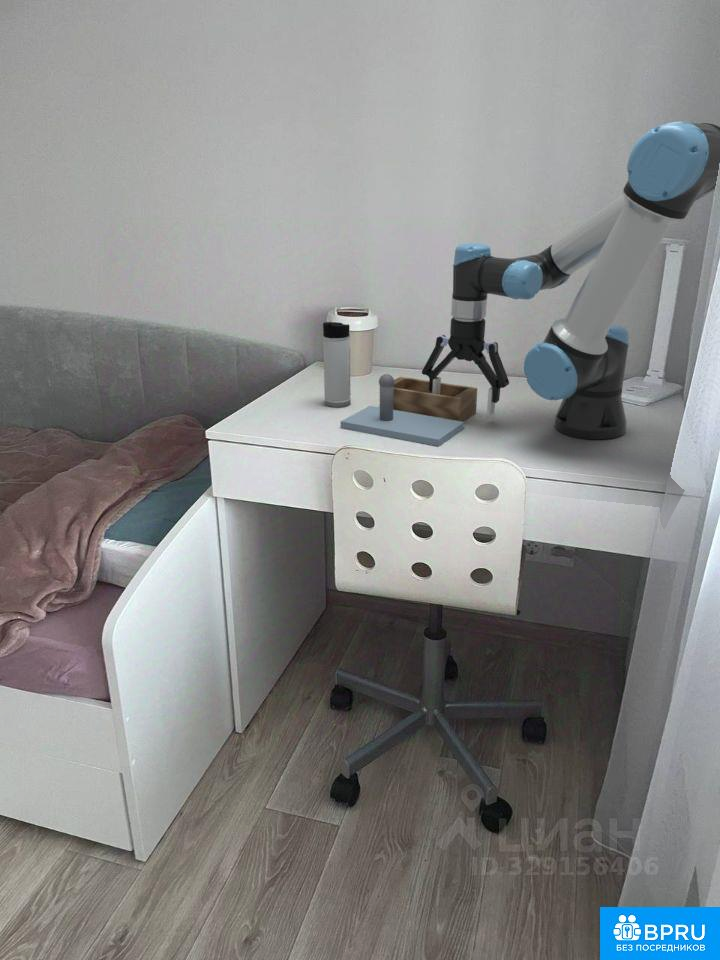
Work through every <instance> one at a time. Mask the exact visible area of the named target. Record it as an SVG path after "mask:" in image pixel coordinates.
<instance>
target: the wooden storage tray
mask: <svg viewBox="0 0 720 960" xmlns="http://www.w3.org/2000/svg"><path fill="white" fill-rule="evenodd" d="M477 402H478V387H473V386H468V385H467V386H466V385H460V384H454V383H445V382H441V386H440V395H438V394H432V392H431V391H429V380H426V379H421V378H420V379H419V378H412V377H407V376H399V377H397V378H395V379H394V385H393V410H398V411H403V412H409V413H415V414H421V415H427V416H433V417H438V418H444V419H450V420H456V421H462V422H464V423H465V421H467V420H468V419H469V418H471V417H472V416H474V415H475V414H476V413H477V405H478V404H477Z"/></svg>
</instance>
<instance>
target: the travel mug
mask: <svg viewBox="0 0 720 960" xmlns="http://www.w3.org/2000/svg"><path fill="white" fill-rule="evenodd" d="M322 327H323V328H322V331H323V333H322V334H323V336H322V338H323V339H322V341H323V342H322V343H323V344H322V345H323V347H322V348H323V376H324V377H323V380H324V382H323V383H324V404H325V405H326V406H328V407H330V408H345V407H348V406H349V405H351V399H352V398H351V395H352V394H351V339H350V337H351V336H350V335H351V334H350V324H349V323H347V324H343V323H342V322H336V321H333V322H332V321H327V322H323V324H322Z"/></svg>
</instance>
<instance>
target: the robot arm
mask: <svg viewBox="0 0 720 960" xmlns="http://www.w3.org/2000/svg"><path fill="white" fill-rule="evenodd" d="M719 163H720V125H717V124H714V123H707V122H701V123H698V122H697V123H694V122H687V121H673V122H668V123H665V124H661V125H658V126H656V127H652V129H650V130H649V131H647V132H645V133H644V134H643V135H642V136H641V137H640V138H639V139H638V140H637V141H636V143H634V146H633V147H632V149H631V152H630V154H629V157H628V161H627V165H626V168H627V169H626V171H627V173H628V174H627V175H628V177H627V181H626V183H625V186H624V187H623V189H622V194H621V195H620V196H619V197H617V198H616V199H614V200H613V201H612V202H610V203H609V204H608V205H606V206H604V207H603V208H602V209H601V210H599V211H598V212H596V213H594V214H593V215H592V216H591V217H589V218H587V219H586V220H585V221H583V222H582V223H581V224H578V226H576V227H575V228H573V229H571V231H569V232H568V233H566V234H565V235H563V236H562V237H560V238H559V239H557V240H556V241H555V242H553V243H552V244H551V245H549V246H547V248H545V249H544V250H542V251H541V252H539V253H536V254H531V255H527V256H521V257H515V258H505V257H497V256H493V255H492V252H491V247H490V246H489V245H488V244H485V243H472V242H470V243H469V242H468V243H461V244H459V245H457V246H456V248H455V249H454V261H453V265H452V269H453V270H452V271H453V275H452V276H453V277H452V297H451V307H450V308H451V309H450V310H451V312H450V316H451V317H452V318H451V319H450V326H449V327H450V330H449V335H450V337H447V336H446V335H445V334H441V335H440V336H438V337H436V341H435V345H434V348H433V350H432V352H431V353H430V356H429V357H428V359H427V362H426V363H424V367H423V368H422V371H421V373H422V375H423V376H427V377H428V379H429V380H428V381H429V391H431V392H432V394H438V395H440V386H441V383H442V382H441V381H442V377H441V376H439V375H440V374H441V373H442V371H444V370H445V368H447V366H448V365H449V364H450V363H451V362H452V361H453V360H455V358H456V359H457V360H460V361H462V360H464V361H466V362H471V361H473V362H474V364H475V365H477V367H478V369H479V370H480V371H481V373H482V374H483V376H484V378H485V379H486V380H487V382H488V383H489V385H490V387H489V388H488V392H487V394H488V395H487V407H486V418H491V417H493V416H494V415H495V409H496V404H497V403H498V402H500V399H501V398H500V394H501V389H503V388H506V387H507V386H508V385H510V380H509V377H508V374H507V372H506V370H505V367H504V364H503V361H502V358H501V356H500V354H499V343H498V342H497V341H495V342H492V343H491V342H489V343H486V342H485V334H486V333H485V332H486V319H485V318H486V316H487V306H488V305H487V304H488V295H489V294H490V295H495V296H500V297H506V298H511V299H513V300H531V299H533V298H534V297H535V296H536V295H537V294H538V293H539V292H540V291H545V290H552V289H555V288H557V287H560V286H562V285H564V284H565V283H567V282H568V280H569V279H570V277H571V275H572V274H574V273H576V272H577V271H579V270H580V269H582V268H583V267H585V266H587V265H588V264H590V263H591V262H593V261H594V262H593V264H592V266H591V268H590V270H589V272H588V274H587V276H586V277H585V279H584V280H583V283H582V285H581V287H580V289H579V291H578V293H577V294H576V297H575V298H574V300H573V302H572V304H571V306H570V307H569V310H568V312H567V313H566V315H565V316H564V317H562V318H558V319H556V320H555V321H553V322H552V324H551V326H550V329H549V330H548V332H547V334H546V336H545V337H544V340H543V341H542V342H539V343H537V344H535V345H534V346H533V347H532V348H530V350H529V351H528V352H527V354H526V355H525V358H524V361H523V373H524V376H525V377H526V382H527V384H528V385H529V387H530V389H531V390H532V391H533V392H534V393H535V394H536V395H537V396H539V397H541V398H542V399H545V400H549V401H558V400H561V402H560V404H559V407H558V409H557V411H556V414H555V416H554V425H553V426H554V428H555V429H556V430H557V431H559V432H560V433H562V434H564V435H567V436H570V437H574V438H578V439H586V440H610V439H615V438H619V437H622V436H623V435H624V434H625V433H626V429H627V417H626V412H625V407H624V402H623V398H622V394H623V387H624V379H625V372H626V365H627V357H628V351H629V350H628V349H629V345H630V344H629V330H628V329H627V328H626V327H624V326H621V325H617V324H614V323H615V322H616V320H617V317H618V316H619V314H620V313H621V311H622V309H623V308H624V306H625V305H626V302H627V301H628V299H629V298H630V295H631V293H632V292H633V290H634V288H635V287H636V285H637V283H638V282H639V280H640V278H641V276H642V275H643V273H644V271H645V270H646V267H647V266H648V264H649V262H650V261H651V260H652V258H653V256H654V254H655V253H656V250H657V248H658V247H659V246H660V244H661V242H662V240H663V239H664V237H665V235H666V234H667V232H668V230H669V228H670V227H671V225H673V224H676V223H679V222H682V221H684V220H685V218H686V217H687V215H688V213H689V212H690V211H691V208H692V207H693V205H694V203H695V202H697V201H698V200H700V199H702V198H703V197H705V196H706V195H709V194H710V193H713V192H714V191H716V190H715V186H716V181H717V176H718V170H719ZM447 345H448V346H449V348H450V351H449V353H448V354H447V355H446V356H445V357H444V358H442V359H443V360H441V361H440V363H439V364H437V366H436V367H435V368H434V366H435V364H436V363H437V361H438V360H439V357H440V355H441V353H442V352H443V350H444V348H445V347H446V346H447ZM484 350H485V351H486V353H487V354H488V356H489V360H490V363H491V364H492V365H491V366H490V364H489V362H488V361H487V359H486V356H485V354H484V353H483V351H484ZM492 367H493V369H492Z"/></svg>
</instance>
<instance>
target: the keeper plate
mask: <svg viewBox="0 0 720 960" xmlns="http://www.w3.org/2000/svg"><path fill="white" fill-rule="evenodd" d="M394 380H395V379H394V377H393V376H392V374H389V373H388V374H387V373H384V374H382V375H381V376H380V377H379V379H378V385H379V406H375V405H374V406H373V405H368V406H366V407H365V408H362V409H361V410H359V411H358V412H356V413H353V414H351V415H350V416H347V417H346V418H344V419H342V420H341V421H340V428H341V429H344V430H345V429H346V430H351V431H356V432H361V433H367V434H371V435H377V436H380V437H381V436H382V437H387V438H392V439H398V440H403V441H408V442H413V443H418V444H423V445H424V444H425V445H430V446H433V447H440V446H441V445H443V444H444V443H446V442H447V441H449V440H450V439H452V438H453V437H454V436H455V435H457V434H458V433H459V432H461V431H463V430H464V429H465V421H464V422H462V421H456V420H450V419H444V418H438V417H433V416H427V415H421V414H415V413H409V412H403V411H398V410H393V385H394Z"/></svg>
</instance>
